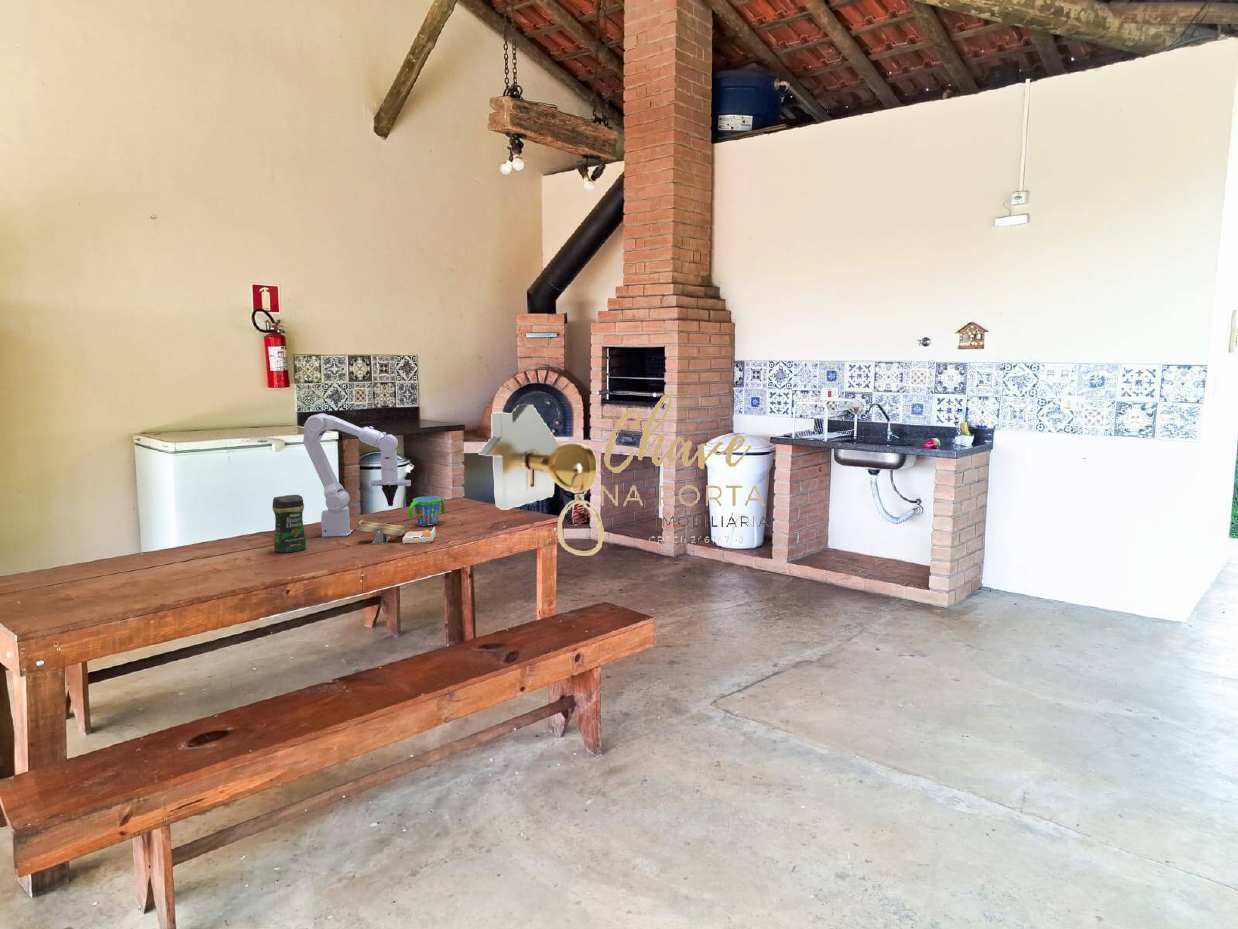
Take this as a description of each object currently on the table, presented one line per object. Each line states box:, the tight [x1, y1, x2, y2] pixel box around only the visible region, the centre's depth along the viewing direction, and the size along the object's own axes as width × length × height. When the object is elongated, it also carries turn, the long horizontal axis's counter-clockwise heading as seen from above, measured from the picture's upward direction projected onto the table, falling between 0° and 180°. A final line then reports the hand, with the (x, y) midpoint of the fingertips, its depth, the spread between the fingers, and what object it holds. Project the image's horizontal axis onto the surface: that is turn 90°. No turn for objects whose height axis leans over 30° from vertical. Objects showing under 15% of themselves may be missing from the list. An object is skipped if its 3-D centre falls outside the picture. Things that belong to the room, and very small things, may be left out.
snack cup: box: [408, 496, 446, 525], centre depth 306 cm, size 16×10×10 cm
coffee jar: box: [271, 494, 307, 553], centre depth 268 cm, size 10×8×19 cm
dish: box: [402, 526, 436, 545], centre depth 282 cm, size 10×10×4 cm
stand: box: [371, 529, 392, 545], centre depth 281 cm, size 5×9×5 cm, turn 7°
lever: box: [356, 519, 408, 537], centre depth 284 cm, size 15×13×2 cm
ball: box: [422, 529, 431, 537], centre depth 282 cm, size 3×3×3 cm
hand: (390, 505), depth 292 cm, fingers closed
